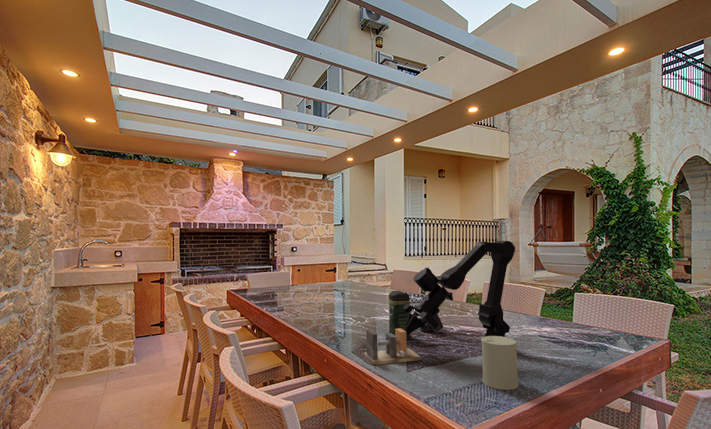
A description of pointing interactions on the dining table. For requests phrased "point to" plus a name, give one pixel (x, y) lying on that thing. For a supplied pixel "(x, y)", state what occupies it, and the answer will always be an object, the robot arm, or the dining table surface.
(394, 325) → the coffee jar
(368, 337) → the wooden base with posts
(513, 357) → the can
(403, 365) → the dining table surface
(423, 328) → the supplement bottle
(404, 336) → the plunger
